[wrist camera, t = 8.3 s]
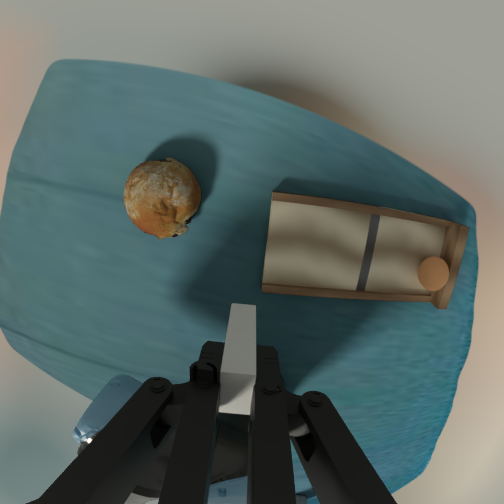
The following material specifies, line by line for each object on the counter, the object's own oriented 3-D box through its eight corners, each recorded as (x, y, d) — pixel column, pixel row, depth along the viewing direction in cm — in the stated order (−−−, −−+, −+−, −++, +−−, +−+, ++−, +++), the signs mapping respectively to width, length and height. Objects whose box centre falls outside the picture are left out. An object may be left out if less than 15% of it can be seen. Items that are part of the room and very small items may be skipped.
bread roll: (205, 168, 38) (192, 139, 30) (206, 239, 36) (190, 224, 29) (141, 176, 38) (117, 152, 30) (137, 244, 37) (108, 232, 29)
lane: (432, 297, 39) (446, 309, 35) (261, 286, 39) (262, 300, 35) (451, 221, 36) (468, 227, 31) (272, 191, 35) (274, 194, 31)
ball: (408, 283, 37) (429, 281, 38) (429, 298, 32) (449, 294, 33) (415, 251, 35) (436, 251, 36) (438, 264, 31) (458, 262, 32)
